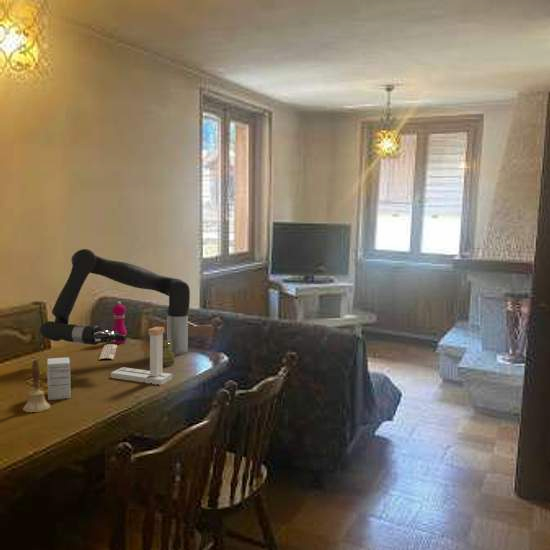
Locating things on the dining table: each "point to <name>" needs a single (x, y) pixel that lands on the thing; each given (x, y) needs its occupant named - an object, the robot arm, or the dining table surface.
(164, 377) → the white scale plate
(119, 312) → the pepper mill
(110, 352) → the newspaper
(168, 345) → the brass knobbed piece
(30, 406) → the hand bell
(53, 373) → the supplement box
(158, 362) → the fader tab
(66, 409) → the dining table surface
